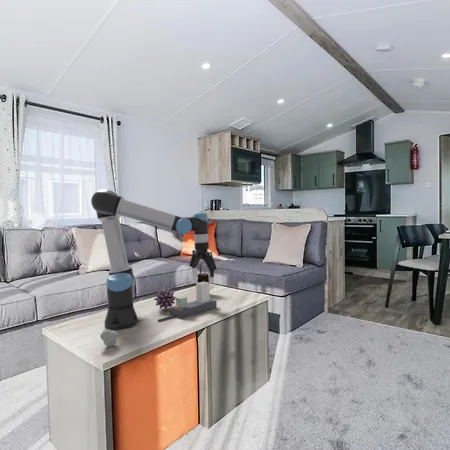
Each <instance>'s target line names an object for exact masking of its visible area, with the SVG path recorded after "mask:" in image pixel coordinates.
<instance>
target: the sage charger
mask: <svg viewBox="0 0 450 450" xmlns="http://www.w3.org/2000/svg"><path fill="white" fill-rule="evenodd" d="M175 297H176V296H175ZM187 303H188V297H186V296H183V295H181V296H177V297H176V298H175V306H179V307H180V309H182V308H186V307H187Z"/></svg>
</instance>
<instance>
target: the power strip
mask: <svg viewBox="0 0 450 450" xmlns="http://www.w3.org/2000/svg"><path fill="white" fill-rule="evenodd" d="M217 303H218V302H217V300H216V299H213V298H210V301H209V302H205V303H200V302H197V300H193V301H190V302H187V307H186V308H182V309H180V307H179V306H176V305H175V306H171V308H170V316H169V315H168V316H166V317H161V318H158V319H157V322H158V323H159V322H163V321H167V320H169V319H174V318H178V319H183V318H186V317H190V316H193V315H197V314H201V313H204V312H207V311H211V310H214V309H217V308H218V307H217V305H218V304H217Z"/></svg>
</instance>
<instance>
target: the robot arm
mask: <svg viewBox="0 0 450 450" xmlns="http://www.w3.org/2000/svg"><path fill="white" fill-rule="evenodd" d="M90 201H91V206H92V208H93V210H95V212H96V217H97V219H98V221H100V222H101V226H102V229H103V235H104V239H105V243H106V250H107V255H108V259H109V265H110V269H109V270H108V277H107V278H106V282H105V284H106V293H107V294H106V295H107V298H106V299H107V311H106V315H105V318H104V327H105V328H106V329H109V330H125V329H129V328H131V327H134V326H136V325H137V324H138V323H139V321H138V320H139V317H138V315H137V312H136V309H135V307H134V288H135V287H136V282H137V281H136V280H137V279H136V277H135V275H134V271H133V267H132V265H130V264H129V262H128V261H129V260H128V256H127V252H126V246H125V242H124V241H125V240H124V236H123V231H122V230H123V229H122V227H121V220H120V218H121V216H122V217H125V218H129V219H132V220H135V221H139V222H142V223H145V224H148V225H149V224H150V225H152V226H156V227H159V228H163V229H166V230H169V231H171V232H172V233H178V234H181V235H186V234H189V233H190V232H193V240H194V249H193V250H192V254H191V258H190V261H189V267H191V268H192V269H191V270H192V280H193V281H195V280H198V274H199V273H198V265H199V263H200V260H202V261H204V262H205V264H206V266H207V269H208V271H207V274H209V285H210V284H213V283H215V278H214V277H215V271H216V270H217V266H216V262H215V259H214V257H213V252H212V251H209V248H210V247H209V246H210V245H209V244H210V243H209V220H208V214H207V213H206V212H198V213H197V212H196V213H195V212H194V213H193V214H192V216H188V217H187V216H186V217H183V216H182V217H181V216H178V215H176V214H171V213H168V212H165V211H162V210H159V209H155V208H153V207H150V206H145V205H142V204H140V203H136V202H134V201H133V202H132V201H130V200H127V199H125V198H124V197H123V196H122V195H118V194H117V193H116V192H115V191H113V190H110V189H104V188H103V189H99V190H97V191H95V192H94V193H93V194H92V197H91V199H90Z"/></svg>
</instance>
